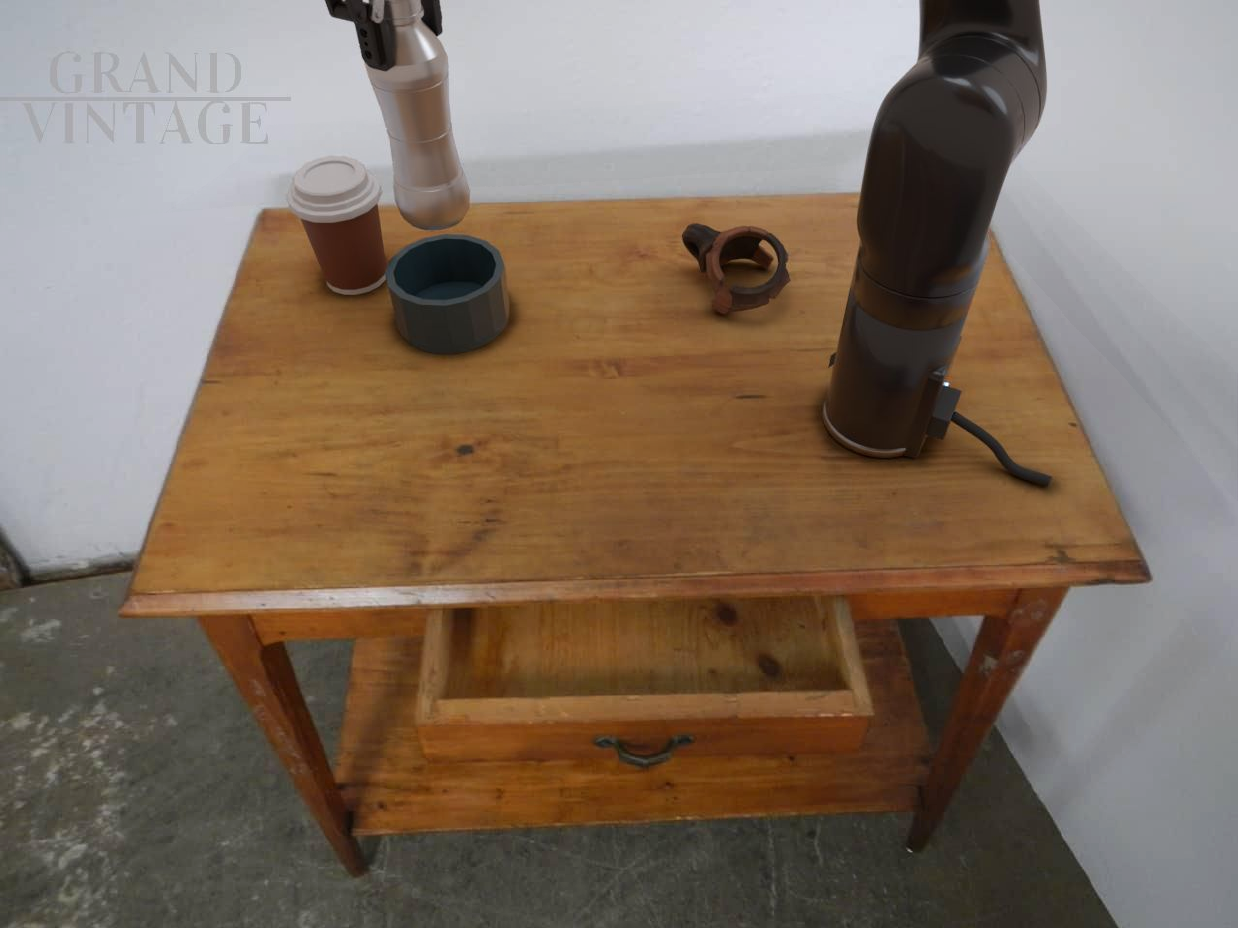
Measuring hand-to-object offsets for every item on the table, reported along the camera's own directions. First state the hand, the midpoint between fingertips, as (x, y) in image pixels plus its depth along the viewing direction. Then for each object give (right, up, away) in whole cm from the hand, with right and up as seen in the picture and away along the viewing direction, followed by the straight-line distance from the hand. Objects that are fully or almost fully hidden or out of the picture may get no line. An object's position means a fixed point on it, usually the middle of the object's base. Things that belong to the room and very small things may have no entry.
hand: (405, 50), depth 74 cm
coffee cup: (-11, -13, +25) cm, 30 cm away
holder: (0, -18, +20) cm, 27 cm away
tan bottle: (0, -10, +12) cm, 16 cm away
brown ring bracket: (+28, -14, +23) cm, 40 cm away
